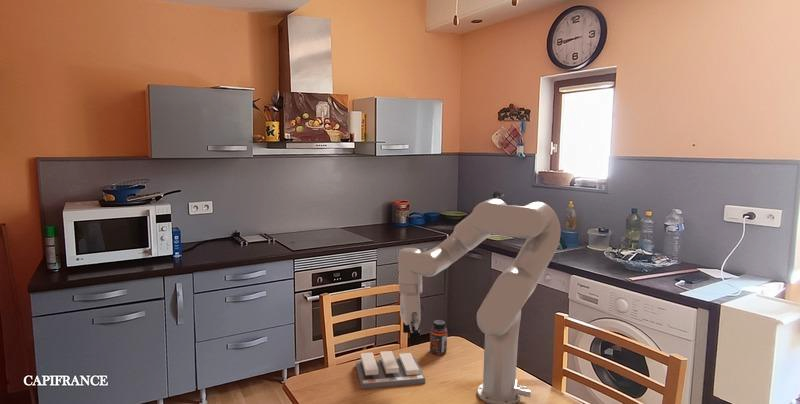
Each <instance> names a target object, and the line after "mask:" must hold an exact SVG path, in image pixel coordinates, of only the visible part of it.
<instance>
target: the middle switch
mask: <svg viewBox="0 0 800 404" xmlns="http://www.w3.org/2000/svg"><path fill="white" fill-rule="evenodd" d="M379 357H380V360H381V361H382V363H383V366H384V369H385V372H386V374H387V373H399V367H398V364H397V362H396V360H395V358H396V357H395V355H394V353H393V351H392V350H390V351H389V350H388V351H387V350H386V351H380V352H379Z"/></svg>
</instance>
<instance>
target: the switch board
mask: <svg viewBox="0 0 800 404" xmlns="http://www.w3.org/2000/svg"><path fill="white" fill-rule="evenodd" d="M412 357H413V359H414V361H415V363H416V365H417V367H418V369H419V374H418V375H406V373H405V371H404V369H403V366H402V364H401V362H400V360H399V357H397V358H396V357H395V360H396V362H397V364H398V367H399V373H387V374H386V372H385V369H384V366H383V363H382V361H381V359H375V361H376V364H377V367H378V374H376V375H365V372H364V368H363V364H362V361H361V360H360V361H355V368H356V372H357V375H358V379H359V380H358V381H359V384H360V387H361V389H362V390H363V389H374V388H375V389H377V388H385V387H386V388H387V387H396V386H397V387H398V386H409V385H417V384H419V385H420V384H426V377H425V374H424V373H423V371H422V369H421V367H420V365H419V364H418V362H417V359H416V357H414V356H412Z"/></svg>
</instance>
